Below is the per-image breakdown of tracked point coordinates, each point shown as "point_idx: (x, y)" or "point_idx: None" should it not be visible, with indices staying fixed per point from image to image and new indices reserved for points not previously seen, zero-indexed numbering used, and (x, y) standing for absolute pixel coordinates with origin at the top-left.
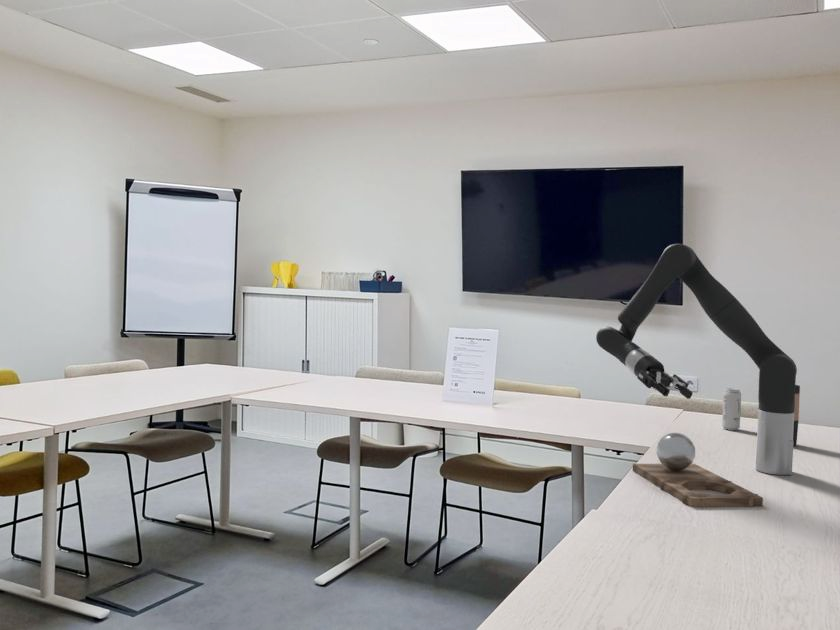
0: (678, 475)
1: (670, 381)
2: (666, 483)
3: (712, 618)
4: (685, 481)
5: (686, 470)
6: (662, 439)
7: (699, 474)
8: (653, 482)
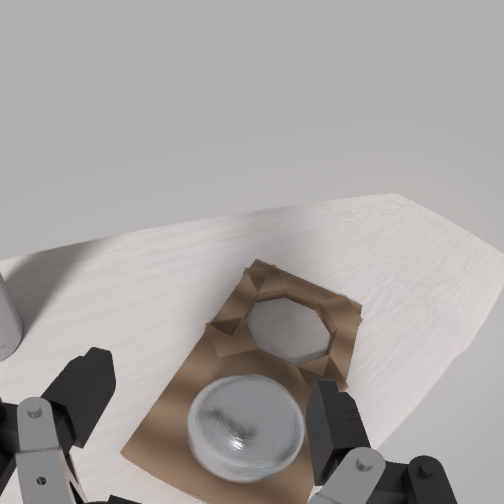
0: None
1: (117, 499)
2: (347, 372)
3: (443, 219)
4: (300, 366)
5: None
6: (297, 437)
7: None
8: None
